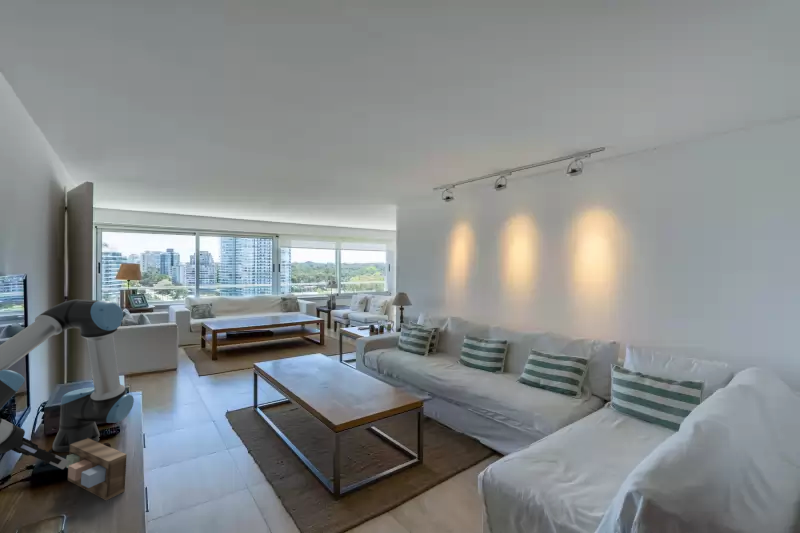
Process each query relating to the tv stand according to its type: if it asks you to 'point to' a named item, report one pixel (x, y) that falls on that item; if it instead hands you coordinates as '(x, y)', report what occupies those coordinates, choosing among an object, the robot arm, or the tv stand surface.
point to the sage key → (72, 459)
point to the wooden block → (109, 460)
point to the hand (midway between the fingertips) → (65, 464)
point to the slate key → (93, 476)
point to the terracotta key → (78, 469)
